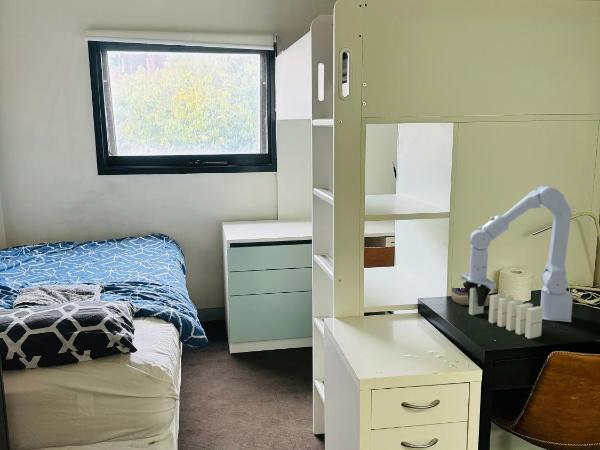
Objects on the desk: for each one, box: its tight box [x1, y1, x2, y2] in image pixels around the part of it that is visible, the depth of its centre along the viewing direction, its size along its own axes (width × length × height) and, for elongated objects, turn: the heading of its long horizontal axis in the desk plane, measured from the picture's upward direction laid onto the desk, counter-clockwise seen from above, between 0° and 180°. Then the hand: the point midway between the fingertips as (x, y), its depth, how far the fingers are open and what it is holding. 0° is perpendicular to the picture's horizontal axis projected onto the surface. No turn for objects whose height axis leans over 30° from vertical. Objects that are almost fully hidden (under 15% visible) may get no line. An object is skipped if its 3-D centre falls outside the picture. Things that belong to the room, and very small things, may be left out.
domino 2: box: [488, 293, 506, 324], centre depth 180 cm, size 2×5×9 cm, turn 117°
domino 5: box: [515, 302, 534, 335], centre depth 170 cm, size 2×5×9 cm, turn 116°
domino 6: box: [524, 305, 543, 340], centre depth 167 cm, size 2×5×9 cm, turn 116°
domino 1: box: [468, 287, 485, 316], centre depth 188 cm, size 2×5×9 cm, turn 116°
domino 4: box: [505, 299, 524, 332], centre depth 173 cm, size 2×5×9 cm, turn 117°
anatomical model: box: [450, 287, 490, 307], centre depth 201 cm, size 12×16×5 cm
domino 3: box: [496, 296, 515, 328], centre depth 177 cm, size 2×5×9 cm, turn 116°
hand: (476, 304), depth 188 cm, fingers open, 4 cm apart
